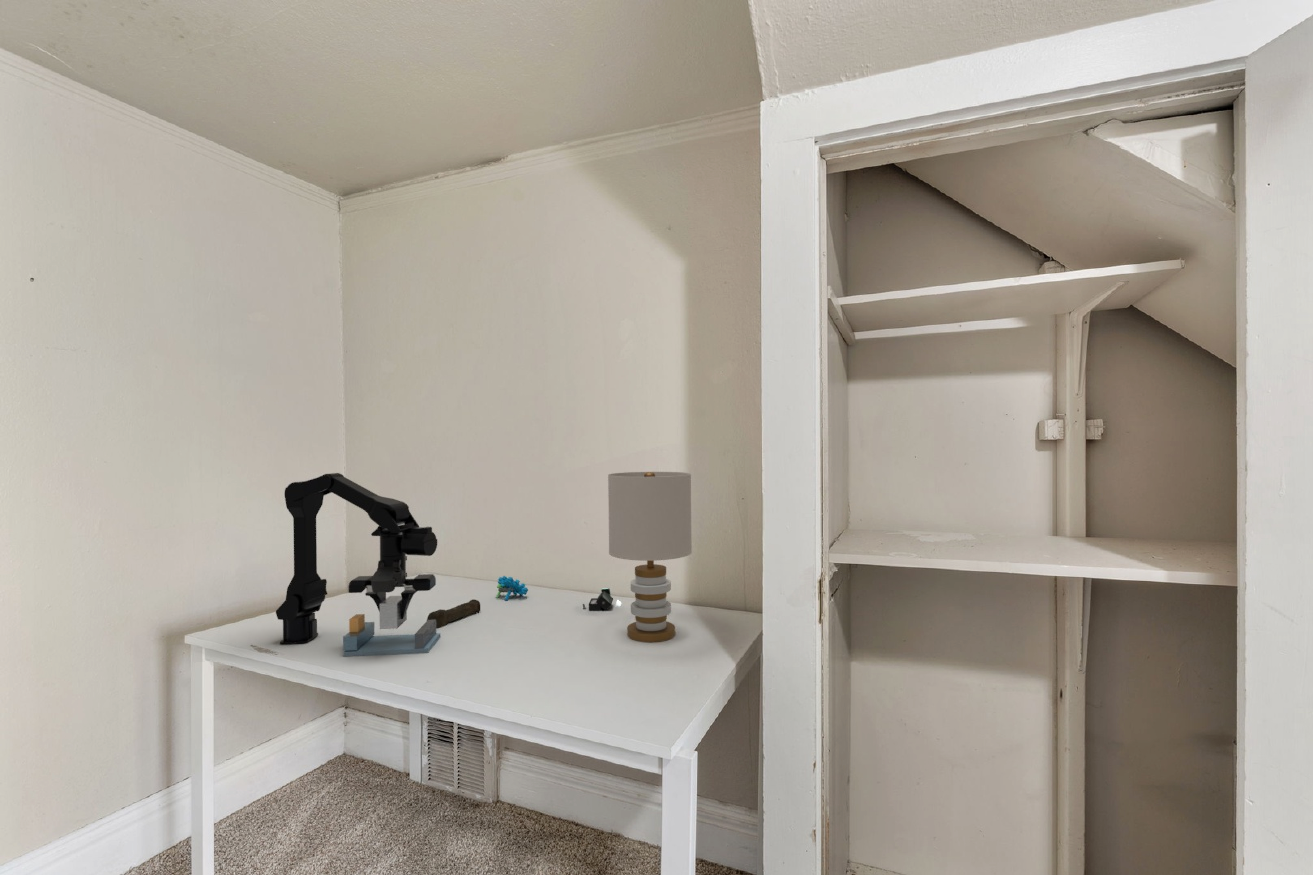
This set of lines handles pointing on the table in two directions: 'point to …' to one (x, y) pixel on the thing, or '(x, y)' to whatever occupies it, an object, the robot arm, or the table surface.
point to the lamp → (650, 541)
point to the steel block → (391, 613)
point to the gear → (510, 587)
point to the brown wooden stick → (454, 613)
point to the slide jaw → (358, 633)
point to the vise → (400, 642)
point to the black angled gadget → (602, 601)
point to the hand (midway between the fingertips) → (393, 618)
